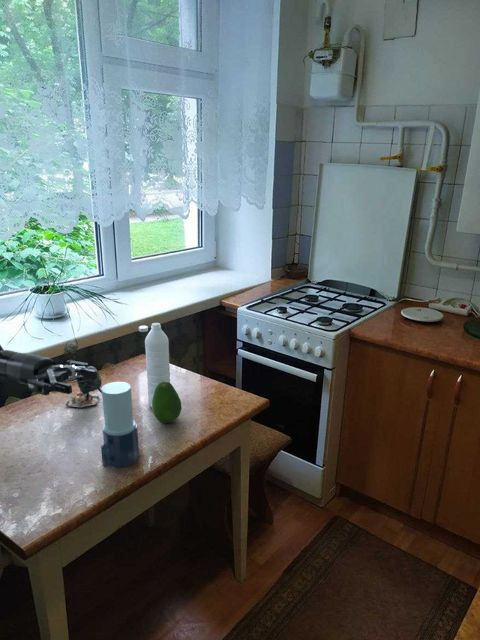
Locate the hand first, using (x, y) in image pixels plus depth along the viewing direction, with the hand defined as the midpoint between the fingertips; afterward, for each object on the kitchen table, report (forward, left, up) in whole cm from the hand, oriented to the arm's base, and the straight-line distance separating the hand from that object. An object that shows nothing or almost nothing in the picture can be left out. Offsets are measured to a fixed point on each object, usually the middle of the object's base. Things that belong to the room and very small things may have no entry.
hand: (83, 382), depth 116 cm
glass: (-5, -8, -10) cm, 13 cm away
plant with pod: (+25, +4, -18) cm, 31 cm away
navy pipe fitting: (-6, -7, -18) cm, 21 cm away
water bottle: (+21, -16, -18) cm, 32 cm away
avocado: (+11, -19, -18) cm, 29 cm away
